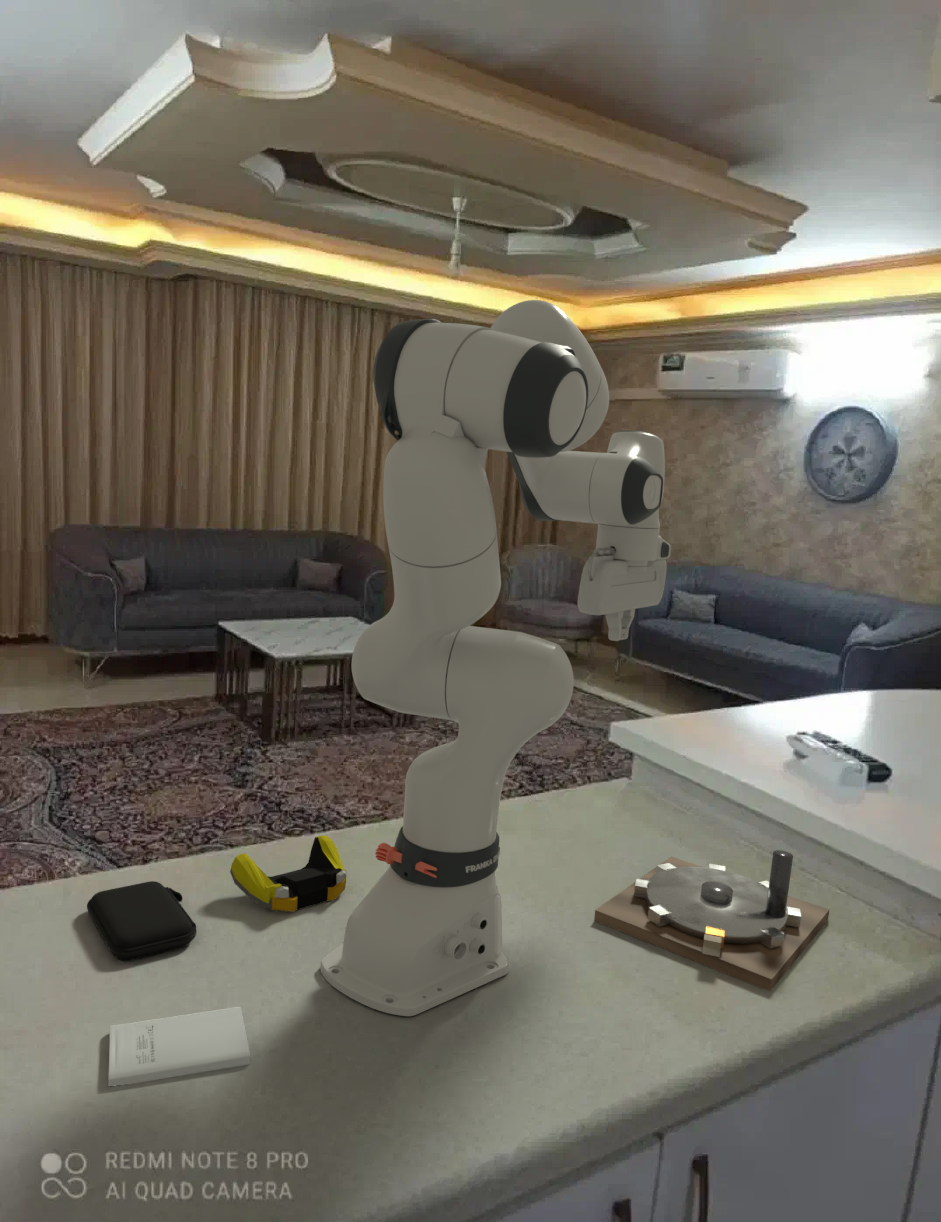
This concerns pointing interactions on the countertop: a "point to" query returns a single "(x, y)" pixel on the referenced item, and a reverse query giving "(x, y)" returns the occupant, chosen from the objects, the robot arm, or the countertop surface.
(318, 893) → the gaming controller
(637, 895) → the sprocket
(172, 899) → the carrying case or bag
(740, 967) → the sprocket base
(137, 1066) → the external hard drive
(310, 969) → the countertop surface
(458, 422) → the robot arm
